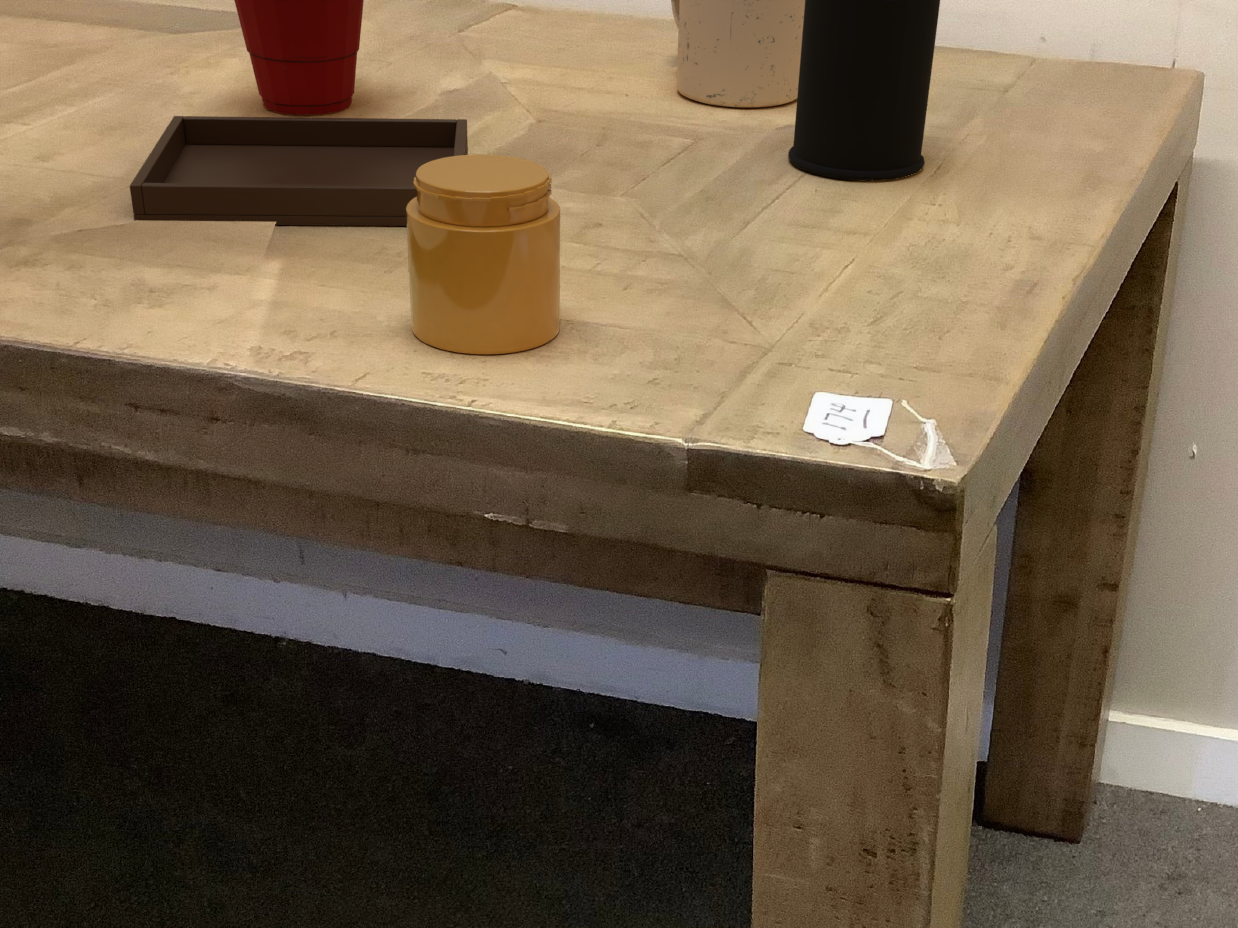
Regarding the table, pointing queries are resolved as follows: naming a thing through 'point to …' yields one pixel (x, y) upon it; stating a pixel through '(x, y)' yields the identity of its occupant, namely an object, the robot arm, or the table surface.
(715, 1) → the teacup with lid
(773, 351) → the table surface
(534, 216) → the jar
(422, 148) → the tray
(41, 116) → the table surface
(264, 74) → the plastic cup
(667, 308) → the table surface
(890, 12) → the aerosol can
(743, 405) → the table surface
